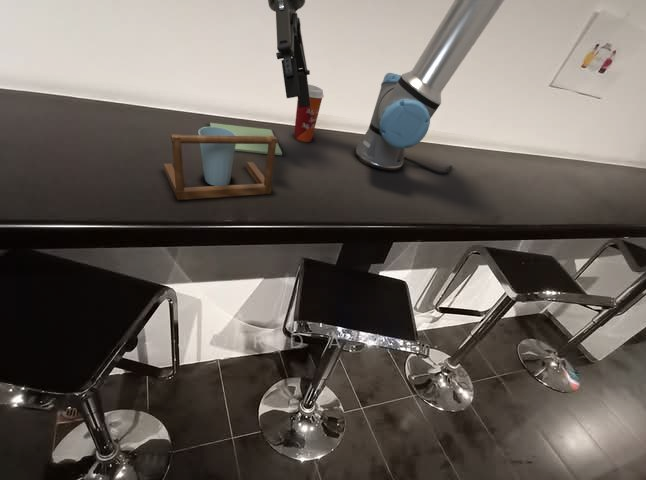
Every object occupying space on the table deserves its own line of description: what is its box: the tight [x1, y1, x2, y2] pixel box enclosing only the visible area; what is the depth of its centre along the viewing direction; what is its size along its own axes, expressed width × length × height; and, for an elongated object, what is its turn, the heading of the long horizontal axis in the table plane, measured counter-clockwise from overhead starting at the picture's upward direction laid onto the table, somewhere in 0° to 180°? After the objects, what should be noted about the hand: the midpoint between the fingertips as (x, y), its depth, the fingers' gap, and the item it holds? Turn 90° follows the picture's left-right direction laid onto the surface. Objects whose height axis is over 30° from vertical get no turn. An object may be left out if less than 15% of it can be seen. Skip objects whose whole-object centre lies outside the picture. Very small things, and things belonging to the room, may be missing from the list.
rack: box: [163, 133, 278, 201], centre depth 73 cm, size 21×12×13 cm, turn 119°
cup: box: [197, 126, 236, 186], centre depth 74 cm, size 8×8×10 cm
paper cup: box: [293, 83, 325, 143], centre depth 102 cm, size 8×8×14 cm
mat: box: [209, 122, 283, 156], centre depth 97 cm, size 18×16×1 cm
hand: (299, 102), depth 76 cm, fingers open, 13 cm apart
